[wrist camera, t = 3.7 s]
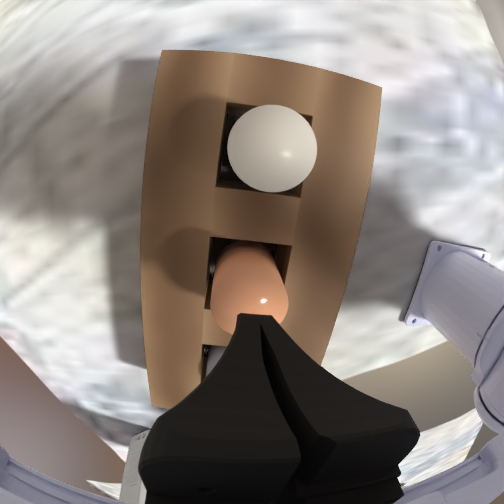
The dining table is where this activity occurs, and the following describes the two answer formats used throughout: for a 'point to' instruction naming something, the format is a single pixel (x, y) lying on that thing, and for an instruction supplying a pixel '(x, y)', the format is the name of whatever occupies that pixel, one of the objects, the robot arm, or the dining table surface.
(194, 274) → the walnut button box
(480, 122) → the dining table surface
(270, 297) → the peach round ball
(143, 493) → the skincare box
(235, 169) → the cream plunger
